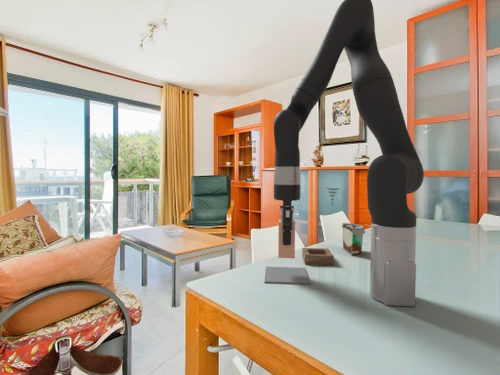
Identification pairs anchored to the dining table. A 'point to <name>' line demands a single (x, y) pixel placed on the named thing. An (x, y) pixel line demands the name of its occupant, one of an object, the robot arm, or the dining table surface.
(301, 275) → the rubber mat
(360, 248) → the food container
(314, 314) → the dining table surface
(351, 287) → the dining table surface
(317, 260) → the walnut pocket
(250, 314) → the dining table surface
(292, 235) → the terracotta block
